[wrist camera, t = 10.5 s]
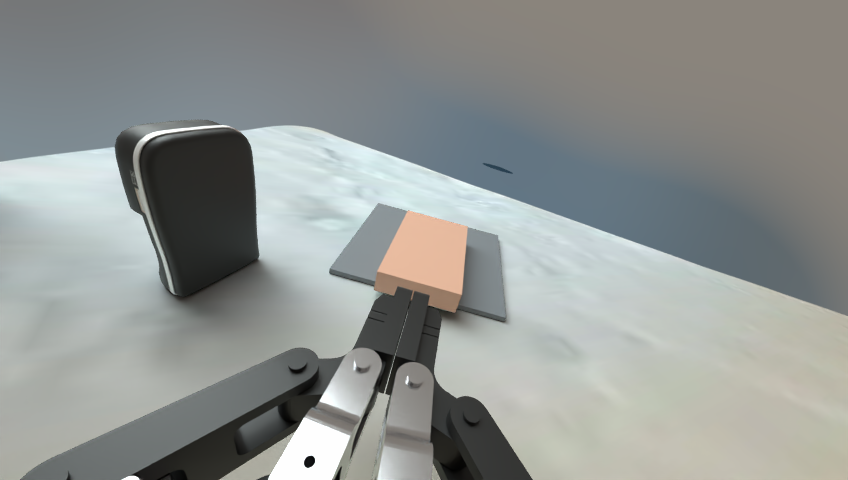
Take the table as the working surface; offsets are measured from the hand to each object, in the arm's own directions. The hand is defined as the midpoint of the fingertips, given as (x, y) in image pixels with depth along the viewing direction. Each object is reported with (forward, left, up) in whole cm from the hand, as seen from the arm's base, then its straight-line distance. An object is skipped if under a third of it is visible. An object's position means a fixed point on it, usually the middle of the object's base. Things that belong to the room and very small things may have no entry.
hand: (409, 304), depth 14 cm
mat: (+16, +9, -9) cm, 20 cm away
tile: (+8, +4, -7) cm, 11 cm away
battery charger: (-2, +18, -9) cm, 20 cm away
